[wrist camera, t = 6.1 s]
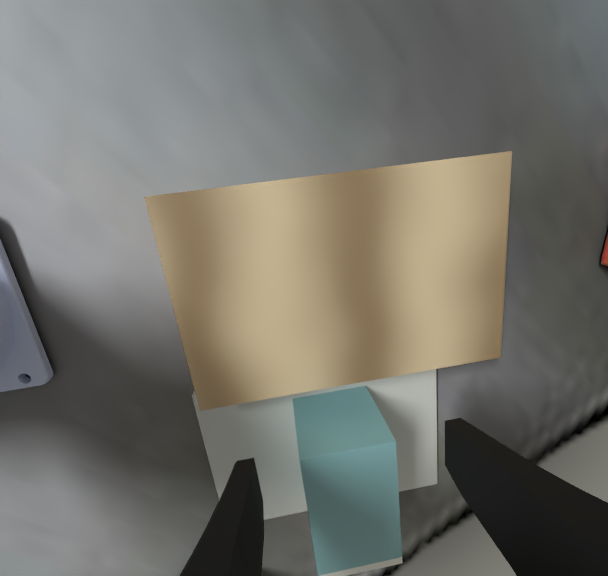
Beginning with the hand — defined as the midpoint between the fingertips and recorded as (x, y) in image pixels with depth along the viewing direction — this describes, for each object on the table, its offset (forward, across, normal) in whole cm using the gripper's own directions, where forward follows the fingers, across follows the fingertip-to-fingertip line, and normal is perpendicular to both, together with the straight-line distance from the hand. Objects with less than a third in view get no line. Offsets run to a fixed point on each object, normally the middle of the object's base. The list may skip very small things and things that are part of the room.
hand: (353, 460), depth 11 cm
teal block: (+3, 0, 0) cm, 3 cm away
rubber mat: (+5, 0, +4) cm, 7 cm away
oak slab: (+5, -1, -6) cm, 8 cm away
